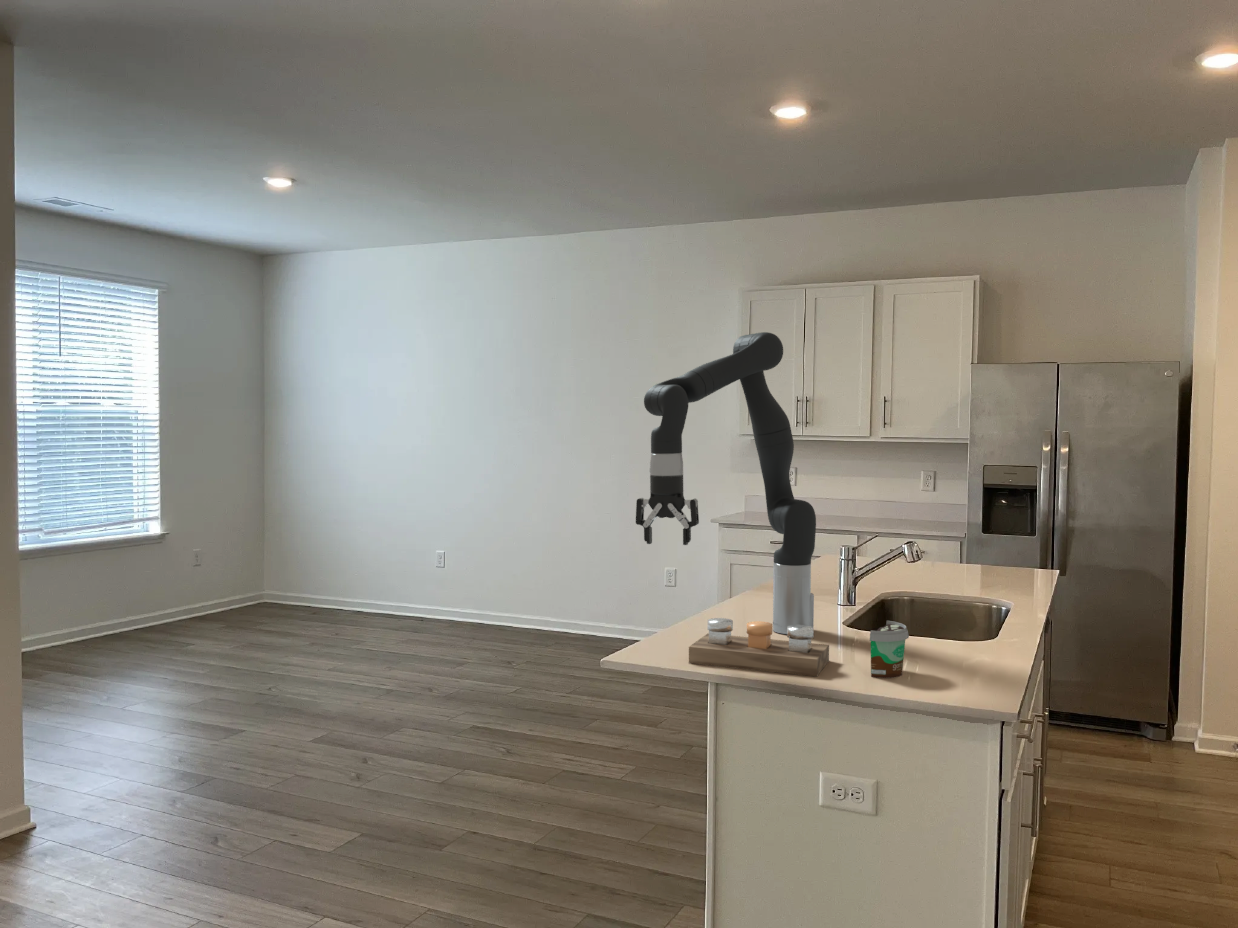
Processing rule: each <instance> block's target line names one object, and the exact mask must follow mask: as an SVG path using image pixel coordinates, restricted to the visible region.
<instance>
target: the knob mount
mask: <svg viewBox="0 0 1238 928" xmlns="http://www.w3.org/2000/svg"><path fill="white" fill-rule="evenodd" d="M829 662H830V644H827V643H825V644H824V643H816V642H811V650H810V651H809V652H808V653H803V652H792V651H789V640H782V639H773V638H772V639H771V642H770V646H769V647H768V648H767V649H762V648H751V647H748V636H743V635H742V636H740V635H739V636H738V635H731V642H730V643H729V644H728V645H721V644H710V643H709V632H708V633H706V634H704V635H703V636H702V637H701V638H699V639H698V640H697V641H695V642H693V643H692V644H690V645H689V646H688V664H694V665H695V664H696V665H704V666H713V667H721V668H722V667H723V668H731V669H732V668H734V669H741V670H751V671H752V670H753V671H759V672H760V671H761V672H769V673H772V672H773V673H781V674H789V675H799V676H807V677H808V676H809V677H818V675H819V674H820V673H821V671H822V670H823V669H824V667H826V665H828V663H829Z"/></svg>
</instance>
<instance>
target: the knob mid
mask: <svg viewBox="0 0 1238 928" xmlns="http://www.w3.org/2000/svg"><path fill="white" fill-rule="evenodd" d="M746 634H747V635H748V636H747V637H748V647H751V648H762V649H767V648H768V647H769V646H770V642H771V637H772V635H773V622H772V623H771V622H768V621H760V620H759V621H757V620H755V621H749V622H747V623H746Z"/></svg>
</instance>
